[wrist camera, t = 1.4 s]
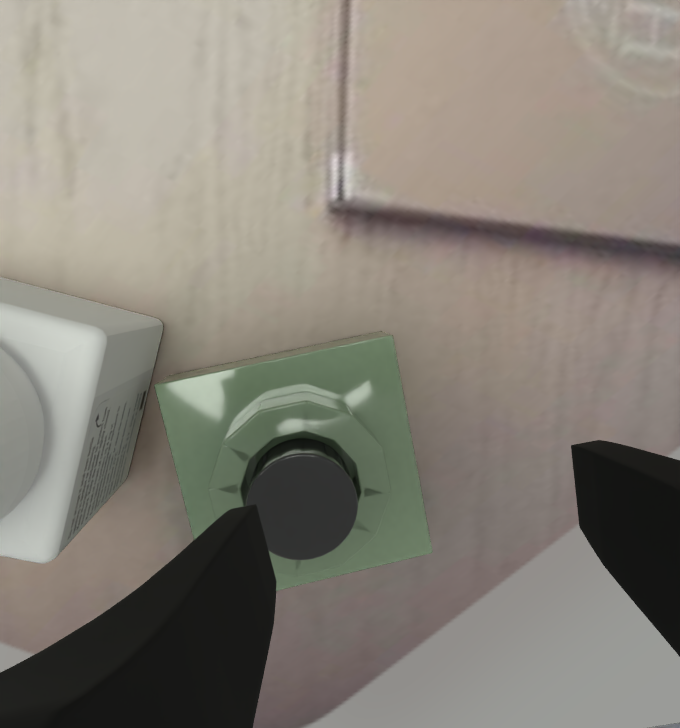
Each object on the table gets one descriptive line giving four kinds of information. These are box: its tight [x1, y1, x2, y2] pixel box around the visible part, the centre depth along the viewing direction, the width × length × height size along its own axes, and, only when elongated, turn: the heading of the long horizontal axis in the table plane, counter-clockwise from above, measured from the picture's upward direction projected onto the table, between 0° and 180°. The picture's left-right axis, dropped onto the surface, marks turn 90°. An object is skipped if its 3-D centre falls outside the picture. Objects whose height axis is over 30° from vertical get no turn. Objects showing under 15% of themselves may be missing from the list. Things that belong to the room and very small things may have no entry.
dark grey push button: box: [246, 438, 358, 560], centre depth 19 cm, size 4×4×2 cm
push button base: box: [154, 331, 433, 591], centre depth 22 cm, size 10×10×4 cm
